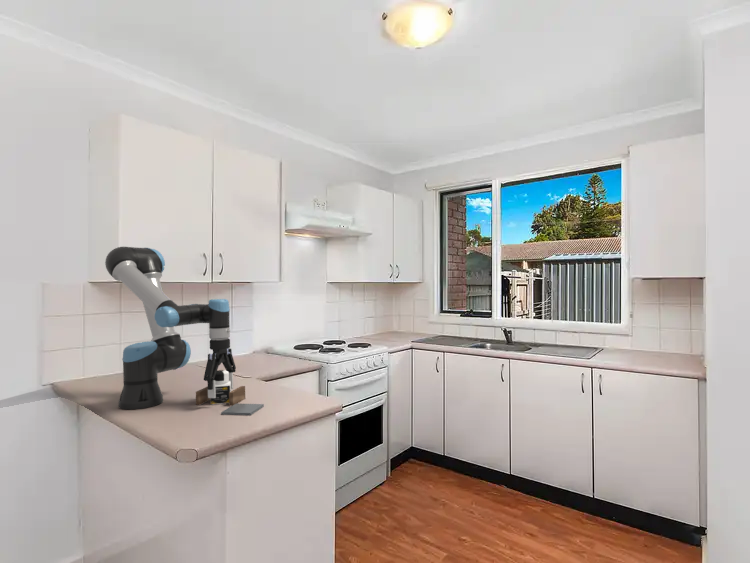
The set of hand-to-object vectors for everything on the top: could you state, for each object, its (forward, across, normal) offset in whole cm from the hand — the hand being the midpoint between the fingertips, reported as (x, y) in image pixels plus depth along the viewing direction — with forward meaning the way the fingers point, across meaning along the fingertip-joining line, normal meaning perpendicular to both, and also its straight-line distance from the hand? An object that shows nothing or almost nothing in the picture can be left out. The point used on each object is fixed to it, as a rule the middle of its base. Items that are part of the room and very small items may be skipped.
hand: (221, 393), depth 171 cm
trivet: (+3, -10, -14) cm, 18 cm away
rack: (+3, 0, 0) cm, 3 cm away
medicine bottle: (+4, 0, 0) cm, 4 cm away
